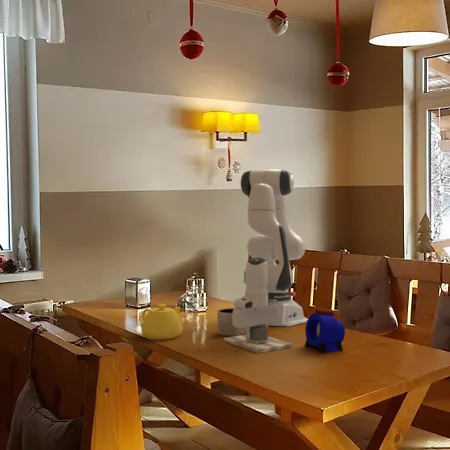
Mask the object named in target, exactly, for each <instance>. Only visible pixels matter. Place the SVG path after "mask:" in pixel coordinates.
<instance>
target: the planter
mask: <svg viewBox="0 0 450 450" xmlns="http://www.w3.org/2000/svg"><path fill="white" fill-rule="evenodd" d="M234 308H235V307H232V308H231V307H230V308H229V307H227V308H226V307H225V308H220V309H217V310H216V311H217V313H216V314H217V317H216V319H217V320H216V324H217V325H216V333H217V334H218V335H219V336H223V337H233V336H239V335H244V332H245V330H244V328H236V327H234V326H233V324H232V315H233V310H234Z"/></svg>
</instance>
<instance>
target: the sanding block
mask: <svg viewBox="0 0 450 450" xmlns="http://www.w3.org/2000/svg"><path fill="white" fill-rule="evenodd" d="M268 328H269V327H268ZM268 328H265V327H264V326H263V325H258V326H251V327H250V329H249V331H250V333H252V338H247V333H246V332H245V335H246V339H247V340H250V341H253V342H256V343H259V342H266V341H267V339H268V333H269V332H268Z"/></svg>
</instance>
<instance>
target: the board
mask: <svg viewBox="0 0 450 450" xmlns="http://www.w3.org/2000/svg"><path fill="white" fill-rule="evenodd" d="M223 341H224V342H226V343H228V344H231V345H234V346H236V347H238V348H239V347H240V348H242V349H245V350H247V351H251V352H253V353H255V354H261V353H267V352H271V351H272V352H273V351H278V350H279V351H280V350H283V349H289V348H290V349H291V348H292V347H293V346H292V343H290V342H286V341H283V340H280V339H277V338H274V337H272V336H268V339H267V341H266V342H259V343H256V342H253V341H250V340H247V339H246V334H241V335H239V336H226V337H224V338H223Z"/></svg>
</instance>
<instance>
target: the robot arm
mask: <svg viewBox="0 0 450 450" xmlns="http://www.w3.org/2000/svg"><path fill="white" fill-rule="evenodd" d="M294 184H295V181H294V176H293V173H292V172H291V170H288V169H283V168H282V169H275V168H274V169H273V168H271V169H270V168H269V169H268V168H266V169H259V170H247V171H245V172H243V174H242V175H241V178H240V188H241V192H242V193H243V194H244V195H245V196H247V197H248V203H247V204H248V205H247V222H248V225H249V227H250V228H251V229H252V230H253V231H254V232H255V233H258V234H256V235H252V236H251V237H250V238H249V239H248V240H247V245H246V250H247V253H248V254H249V256H250V257H251V258H249V259H248V260H247V261H246V266H245V270H244V274H243V277H244V278H243V282H244V284H245V291H244V295H243V296H242V297H240V298H238V299H235V300H234V301H233V306H234V307H233V308H234V310H233V315H232V324H233V326H234V327H236V328H244V332H245V334H246V333H247V338H252V333H250V331H249V329H250V327H251V326H258V325H259V326H262V327H265V328H269V326H273V327H275V326H276V327H293V326H295V325H300V324H304V323H305V324H306V323H307V320H308V318H309V317H308V318H307V317H305V315H304V310H303V307H302V306H301V305H299V304H298V303H297V302H296V301H295V300H293V299H292V297H296V292H295V291H290V290H289V289H290V288H291V287H292V286H293V283H294V275H293V270H292V268H291V263H290V261H293V260H300V259H301V258H302V257H303V256H304V254H305V252H306V243H305V241H304V239H303V238H302V237H301V236H300V235H298V234H297V233H295V231H294V230H293V228H292V227H291V226H290V223H289V218H288V214H287V202H286V196H287V195H289V194H291V193H292V191H293V189H294ZM276 261H278V264H277V263H276Z"/></svg>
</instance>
